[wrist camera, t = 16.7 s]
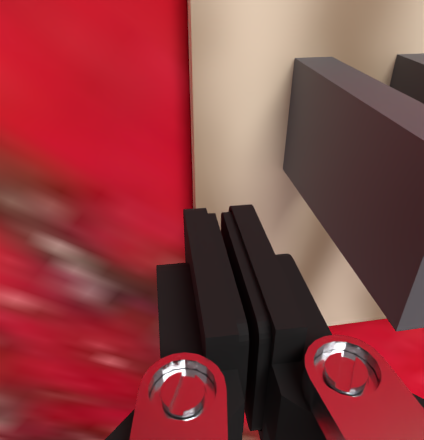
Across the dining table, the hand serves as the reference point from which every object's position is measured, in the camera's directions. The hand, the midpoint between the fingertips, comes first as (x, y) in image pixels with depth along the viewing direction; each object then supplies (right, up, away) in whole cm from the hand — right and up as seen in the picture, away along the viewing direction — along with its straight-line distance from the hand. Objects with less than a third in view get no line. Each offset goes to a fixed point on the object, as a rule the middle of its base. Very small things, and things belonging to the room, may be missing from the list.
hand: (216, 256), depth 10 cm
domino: (+4, +5, +8) cm, 10 cm away
